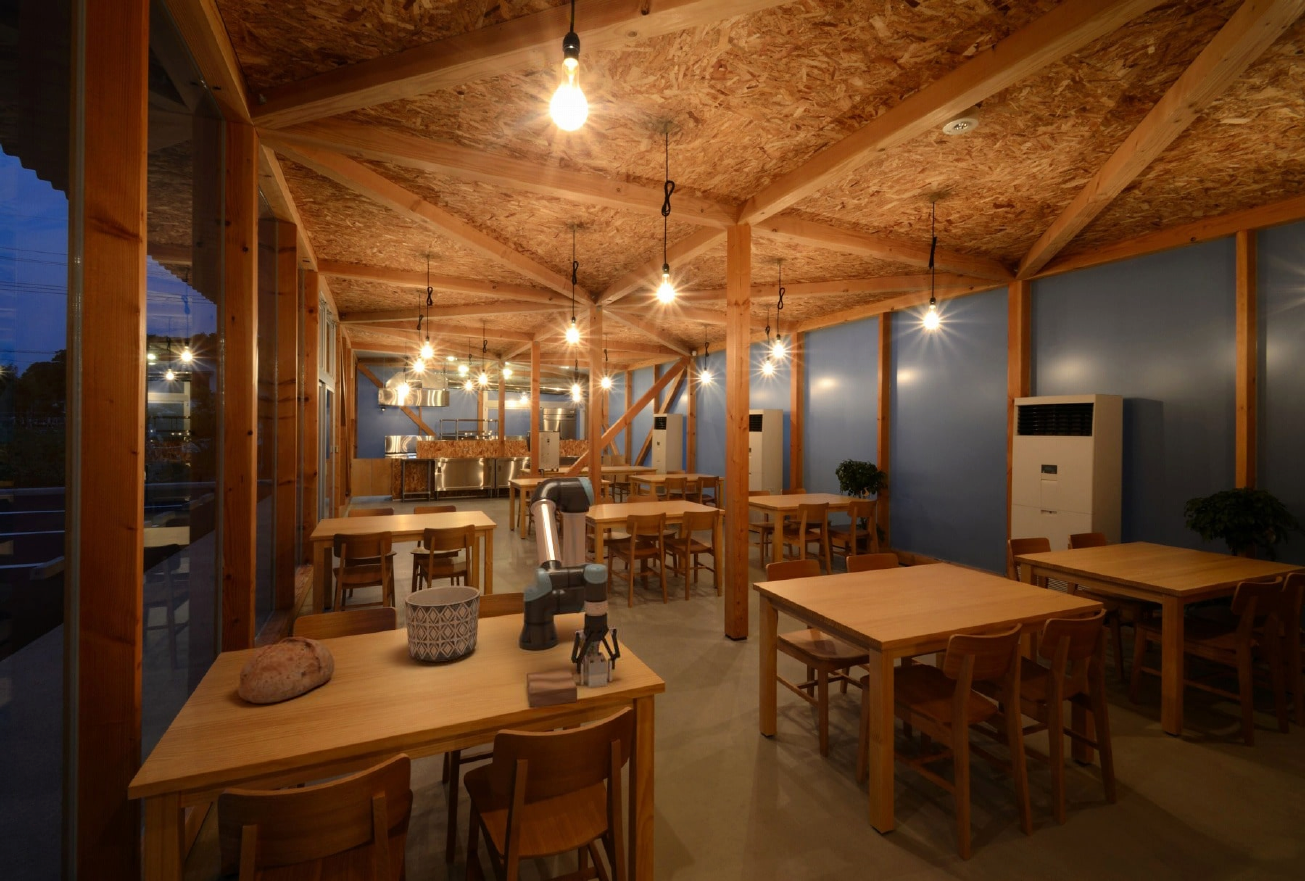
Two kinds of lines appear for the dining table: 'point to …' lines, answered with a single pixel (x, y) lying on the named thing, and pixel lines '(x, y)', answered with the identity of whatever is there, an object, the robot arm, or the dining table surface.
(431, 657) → the planter
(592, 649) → the mug
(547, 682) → the stand
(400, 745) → the dining table surface
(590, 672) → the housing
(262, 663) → the bread
